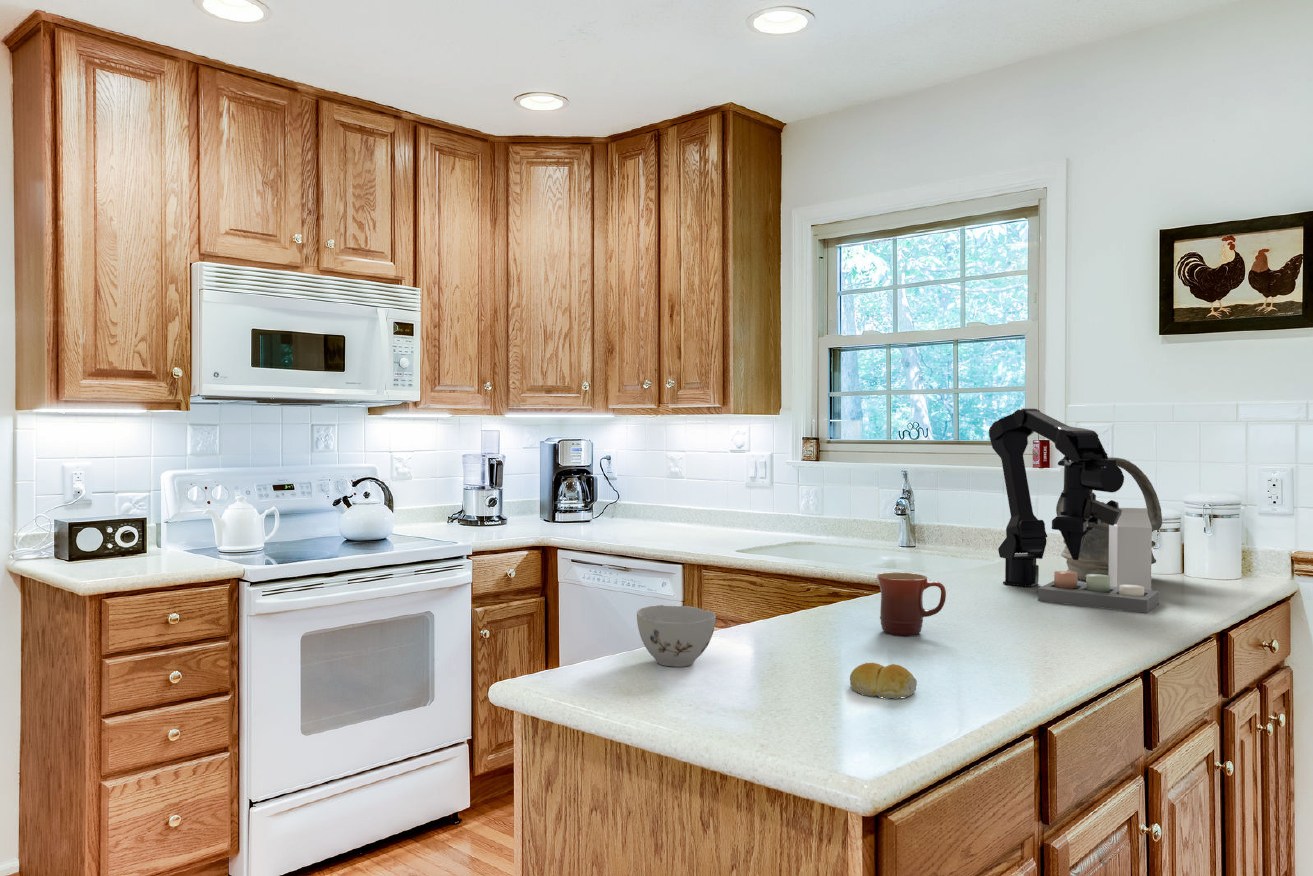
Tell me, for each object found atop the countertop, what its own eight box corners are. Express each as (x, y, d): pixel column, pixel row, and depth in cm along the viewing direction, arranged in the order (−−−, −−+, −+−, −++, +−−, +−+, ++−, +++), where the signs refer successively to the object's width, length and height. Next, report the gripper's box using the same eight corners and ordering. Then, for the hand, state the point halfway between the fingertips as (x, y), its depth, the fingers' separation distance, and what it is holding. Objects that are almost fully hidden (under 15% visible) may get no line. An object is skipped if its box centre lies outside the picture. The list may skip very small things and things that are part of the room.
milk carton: (1151, 594, 206) (1152, 509, 206) (1116, 593, 208) (1118, 508, 207) (1141, 589, 213) (1142, 506, 213) (1108, 587, 215) (1109, 506, 214)
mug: (874, 635, 164) (874, 578, 164) (878, 625, 172) (879, 571, 172) (944, 641, 160) (945, 582, 160) (946, 630, 168) (946, 574, 168)
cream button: (1117, 601, 193) (1117, 586, 193) (1121, 597, 196) (1122, 583, 196) (1141, 603, 190) (1141, 589, 190) (1145, 600, 193) (1146, 586, 193)
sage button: (1083, 590, 197) (1083, 576, 196) (1089, 587, 200) (1089, 573, 200) (1107, 592, 194) (1107, 578, 194) (1112, 589, 197) (1112, 575, 197)
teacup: (698, 677, 137) (698, 623, 136) (622, 667, 142) (622, 615, 141) (731, 654, 150) (732, 605, 150) (661, 646, 155) (662, 599, 155)
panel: (1037, 600, 198) (1038, 588, 198) (1054, 592, 209) (1054, 580, 209) (1146, 613, 185) (1147, 600, 185) (1158, 603, 196) (1158, 591, 196)
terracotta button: (1051, 586, 201) (1051, 572, 200) (1057, 583, 204) (1057, 570, 204) (1074, 589, 198) (1074, 575, 198) (1079, 586, 201) (1079, 572, 201)
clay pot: (1158, 589, 213) (1160, 459, 213) (1050, 579, 226) (1051, 457, 225) (1163, 576, 232) (1165, 457, 232) (1063, 568, 244) (1065, 454, 244)
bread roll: (860, 680, 136) (861, 653, 136) (921, 690, 131) (921, 662, 131) (840, 694, 129) (840, 665, 129) (903, 704, 124) (903, 675, 124)
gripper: (1110, 493, 187) (1107, 570, 188) (1127, 487, 202) (1124, 558, 203) (1052, 490, 194) (1050, 564, 194) (1072, 484, 209) (1070, 552, 209)
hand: (1075, 559), depth 200 cm, fingers closed
